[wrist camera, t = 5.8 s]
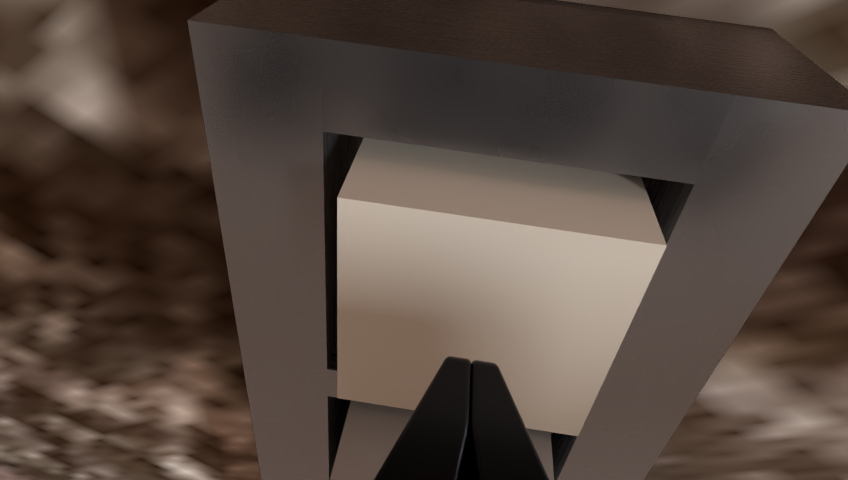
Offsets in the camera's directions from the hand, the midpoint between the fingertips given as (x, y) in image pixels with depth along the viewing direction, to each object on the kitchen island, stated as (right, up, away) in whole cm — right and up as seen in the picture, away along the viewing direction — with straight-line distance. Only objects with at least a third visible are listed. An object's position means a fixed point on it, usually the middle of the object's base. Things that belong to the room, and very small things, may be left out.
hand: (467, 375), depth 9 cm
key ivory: (+1, +3, +4) cm, 5 cm away
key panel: (0, -5, +11) cm, 12 cm away
